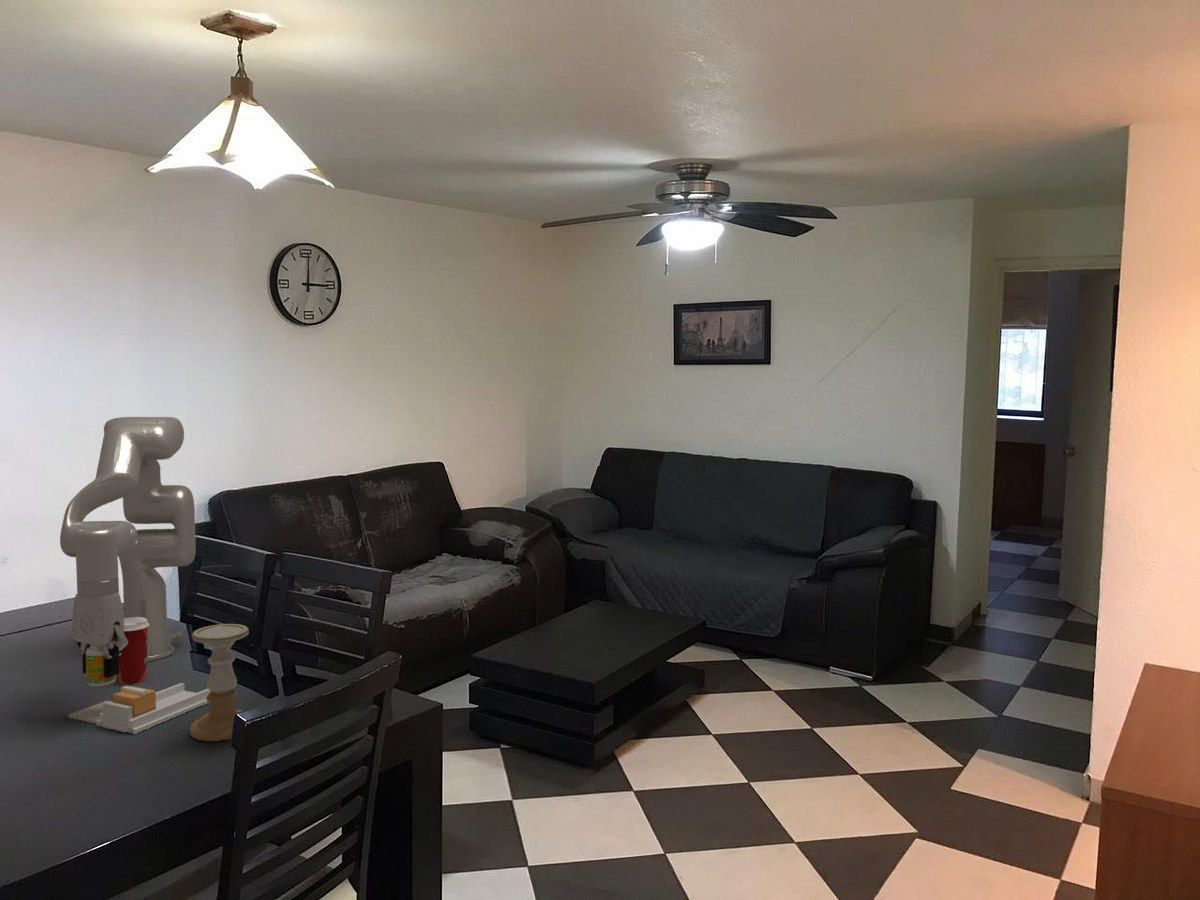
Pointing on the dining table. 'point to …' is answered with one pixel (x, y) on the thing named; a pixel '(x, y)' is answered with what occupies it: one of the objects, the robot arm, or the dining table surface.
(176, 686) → the guard channel
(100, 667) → the supplement bottle
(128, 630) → the paper cup
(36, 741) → the dining table surface
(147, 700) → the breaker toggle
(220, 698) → the candle holder
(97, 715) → the pad
